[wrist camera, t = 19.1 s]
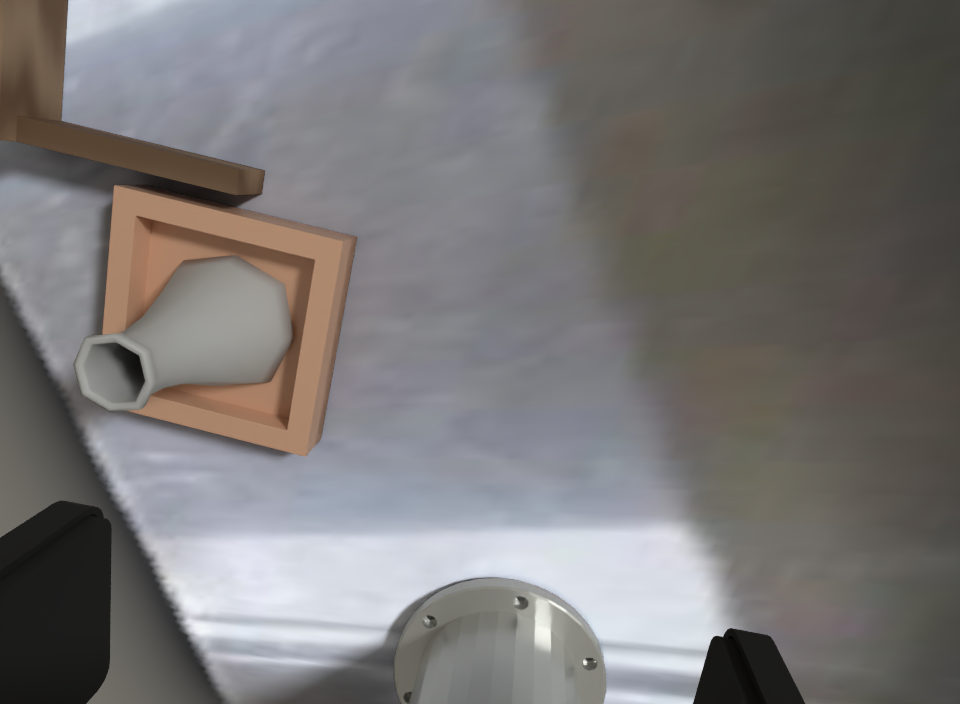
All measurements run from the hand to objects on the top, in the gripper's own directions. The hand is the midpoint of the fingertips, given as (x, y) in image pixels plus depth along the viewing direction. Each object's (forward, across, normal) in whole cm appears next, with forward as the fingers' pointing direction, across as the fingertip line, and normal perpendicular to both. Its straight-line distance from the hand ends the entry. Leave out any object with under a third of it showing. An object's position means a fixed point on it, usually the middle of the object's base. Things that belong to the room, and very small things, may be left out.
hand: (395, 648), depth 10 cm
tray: (+26, +14, +2) cm, 30 cm away
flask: (+25, +14, +2) cm, 29 cm away
